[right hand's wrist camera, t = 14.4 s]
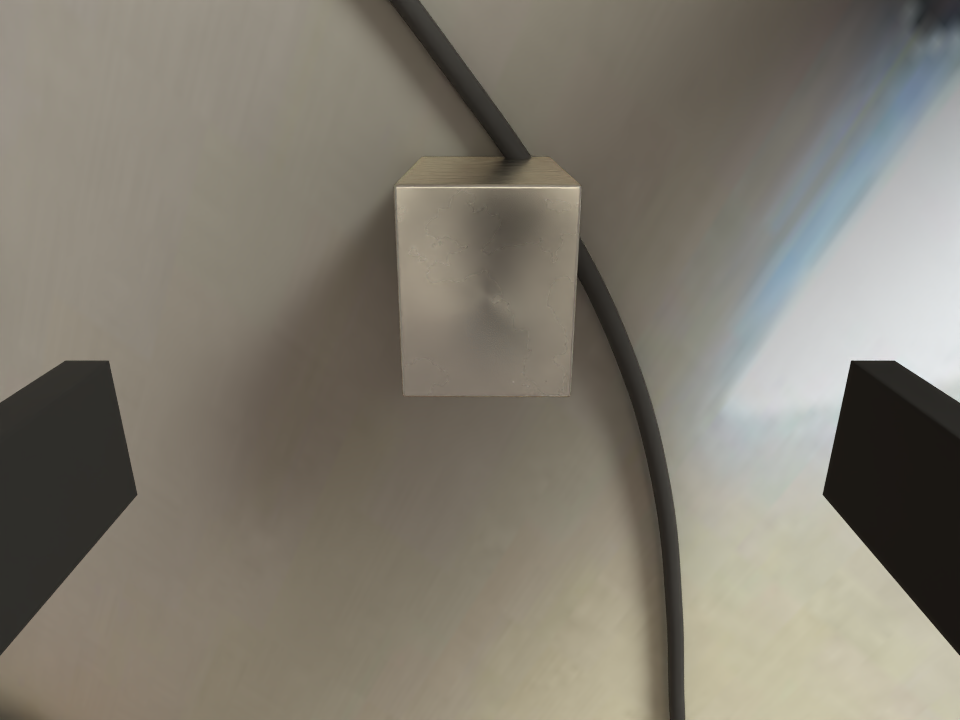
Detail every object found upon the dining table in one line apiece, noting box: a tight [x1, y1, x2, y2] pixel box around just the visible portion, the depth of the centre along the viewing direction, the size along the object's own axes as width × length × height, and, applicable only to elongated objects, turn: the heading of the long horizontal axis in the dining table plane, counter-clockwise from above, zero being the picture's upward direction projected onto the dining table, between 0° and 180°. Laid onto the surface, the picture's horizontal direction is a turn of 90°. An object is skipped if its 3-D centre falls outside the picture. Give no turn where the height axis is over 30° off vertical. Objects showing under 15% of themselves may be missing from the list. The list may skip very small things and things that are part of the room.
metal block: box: [394, 156, 582, 397], centre depth 24 cm, size 5×6×9 cm
